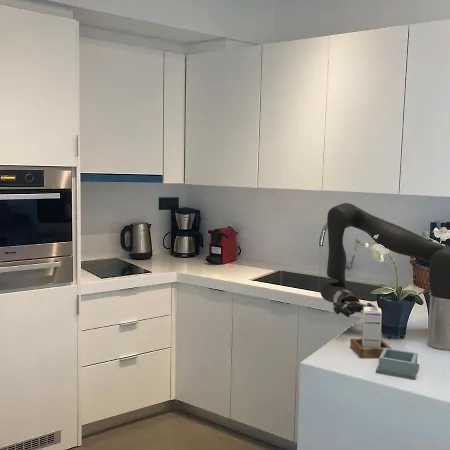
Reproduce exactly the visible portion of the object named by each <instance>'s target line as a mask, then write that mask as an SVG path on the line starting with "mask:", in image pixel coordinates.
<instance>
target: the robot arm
mask: <svg viewBox="0 0 450 450" xmlns="http://www.w3.org/2000/svg"><path fill="white" fill-rule="evenodd" d="M326 218H327V219H326V220H327V221H326V222H327V237H328V238H327V239H328V240H327V241H328V258H327V267H326V275H327V277H328V278H330V279H331V280H336V281H325V282H323V283H322V284H321V286H320V288H319V293H320V295H321V297H322V299H323V300H324V301H327V302H330V303H333V304H332V310H333V312H334V313H335V314H337V315H339V314H341V315H344V316H345V317H346V318H350V316H351V315H354V314H360V315H363V307H376V306H375V305H374V304H372V303H371V302H367V304H365V303H361V302H360V301H361V300H360V299H359V298H358V297H357V296H356V295H355V294H354V293H352V292H351V291H350V290H348V287H347V283H346V282H347V281H346V266H347V254H346V250H345V247H344V234H345V230H346V229H347V228H350V227H352V228H355V229H358V230H360V231H362V232H365V233H366V234H367V235H369V237H370V238H371V239H372V240H373V242H375V244H377V245H378V244H381V245H383V246H384V247H385V248H384V247H383V248H384V249H386V248H387V249H386V250H388V249H389V251H391V252H393V253H394V254H395V253H396V254H398V255H401V256H402V255H403V256H405V257H406V256H407V257H411V258H417V259H418V260H419V259H420V260H422V261H425V262H427V263H429V272H428V273H429V274H428V275H429V277H428V285H429V289H430V297H429V298H430V299H429V311H428V312H429V313H428V326H427V337H426V340H427V341H426V342H427V343H426V344H427V346H429V347H431V348H433V349H439V350H445V351H446V350H447V351H450V246H447V245H445V244H442V243H439V242H435V241H433V240H430V239H428V238H425V237H423V236H421V235H419V234H417V233H415V232H413V231H411V230H408V229H406V228H404V227H402V226H400V225H397V224H395V223H393V222H390V221H387V220H385V219H383V218H380V217H378V216H375V215H373V214H371V213H369V212H367V211H365V210H364V209H362V208H360V207H358V206H356V205H354V204H352V203H349V202H343V203H340V204H338V205H336V206H335V205H334V206H333V207H331V208H330V209H329V210H328V212H327V217H326ZM377 234H378V235H379V236H378V238H377V239H375V238H373V237H374V235H377Z"/></svg>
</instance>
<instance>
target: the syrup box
mask: <svg viewBox="0 0 450 450" xmlns="http://www.w3.org/2000/svg"><path fill="white" fill-rule="evenodd" d="M362 312H363V314H362V327H361V328H362V330H361V331H362V332H361V333H362V334H361V338H362V348H381V339H382V317H383V316H382V315H383V312H382V309H381V307H377V306H375V307H363V310H362Z"/></svg>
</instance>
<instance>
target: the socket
mask: <svg viewBox="0 0 450 450" xmlns="http://www.w3.org/2000/svg"><path fill="white" fill-rule="evenodd" d="M418 354H419V352H413V351H408V350H400V349H396V348H395V349H394V348H392V349H389V348H384V349H383V351H382V353H381V355H380V357H379V358H378V365H377V366H376V369H375V373H376V374H381V375H386V376H387V375H388V376H392V377H398V378H403V379H409V380H414V381H415V380H416V378H417V375H418V372H419V369H420V363H418V357H419V355H418Z"/></svg>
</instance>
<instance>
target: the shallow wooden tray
mask: <svg viewBox="0 0 450 450" xmlns="http://www.w3.org/2000/svg"><path fill="white" fill-rule="evenodd" d="M349 347H350V349H351V350H352V351H353V352H354V353H355V355H357V357H359V359H379V357H380V355H381V353H382V351H383V349H384V348H389V349H393V348H392V347H391V346H390V345H389V344H388V343H386V341H384V340H383V339H382V338H381V348H362V337H361V338H350V345H349Z"/></svg>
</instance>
